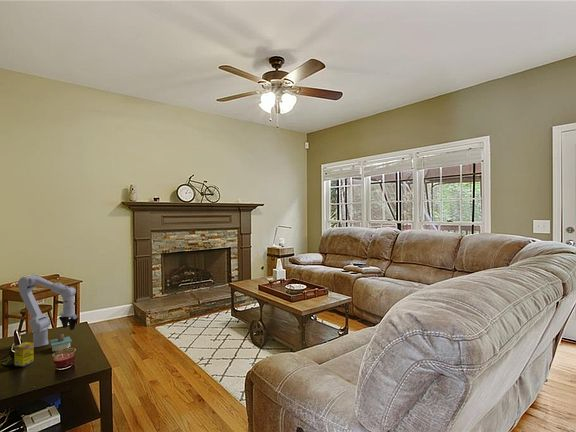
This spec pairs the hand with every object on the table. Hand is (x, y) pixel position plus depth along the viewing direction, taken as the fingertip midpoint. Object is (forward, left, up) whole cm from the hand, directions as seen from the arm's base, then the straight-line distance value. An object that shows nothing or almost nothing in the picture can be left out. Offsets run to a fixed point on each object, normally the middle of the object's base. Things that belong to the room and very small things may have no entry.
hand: (68, 328), depth 201 cm
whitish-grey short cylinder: (+5, -4, -10) cm, 12 cm away
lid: (+5, -4, -6) cm, 9 cm away
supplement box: (+18, -21, -10) cm, 29 cm away
